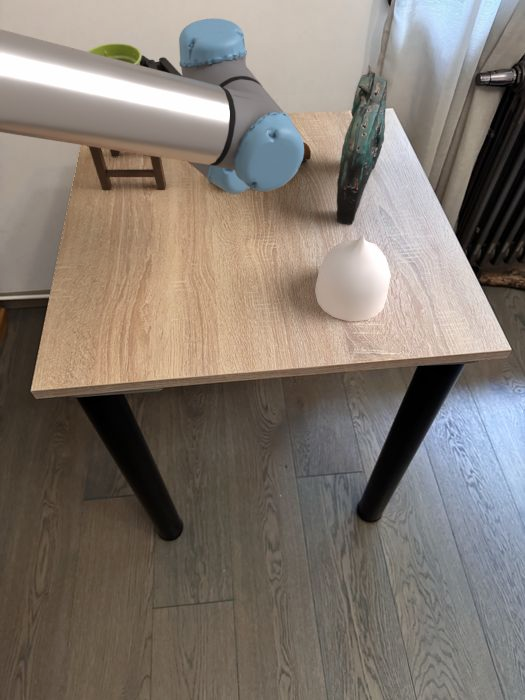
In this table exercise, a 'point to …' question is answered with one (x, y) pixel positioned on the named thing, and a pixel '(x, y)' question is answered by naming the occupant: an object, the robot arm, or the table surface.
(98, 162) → the plant stand
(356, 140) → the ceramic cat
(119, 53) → the plant pot
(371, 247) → the teardrop
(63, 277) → the table surface
